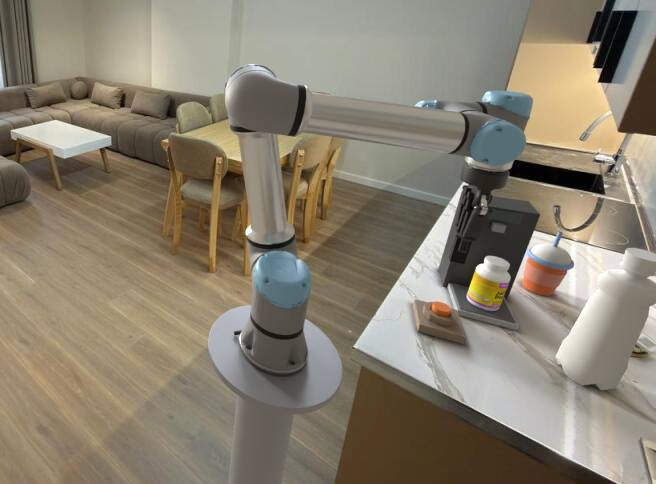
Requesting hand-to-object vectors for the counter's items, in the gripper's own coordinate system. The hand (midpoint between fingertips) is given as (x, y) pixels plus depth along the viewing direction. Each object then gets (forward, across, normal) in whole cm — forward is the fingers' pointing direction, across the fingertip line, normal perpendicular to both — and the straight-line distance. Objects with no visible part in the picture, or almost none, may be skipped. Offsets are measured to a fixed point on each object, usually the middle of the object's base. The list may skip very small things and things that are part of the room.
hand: (456, 261), depth 90 cm
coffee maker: (+18, +16, -11) cm, 27 cm away
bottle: (+19, -4, -25) cm, 31 cm away
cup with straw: (+19, +28, -27) cm, 43 cm away
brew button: (+15, 0, 0) cm, 15 cm away
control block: (+18, 0, 0) cm, 18 cm away
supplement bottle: (+17, +12, -11) cm, 23 cm away
